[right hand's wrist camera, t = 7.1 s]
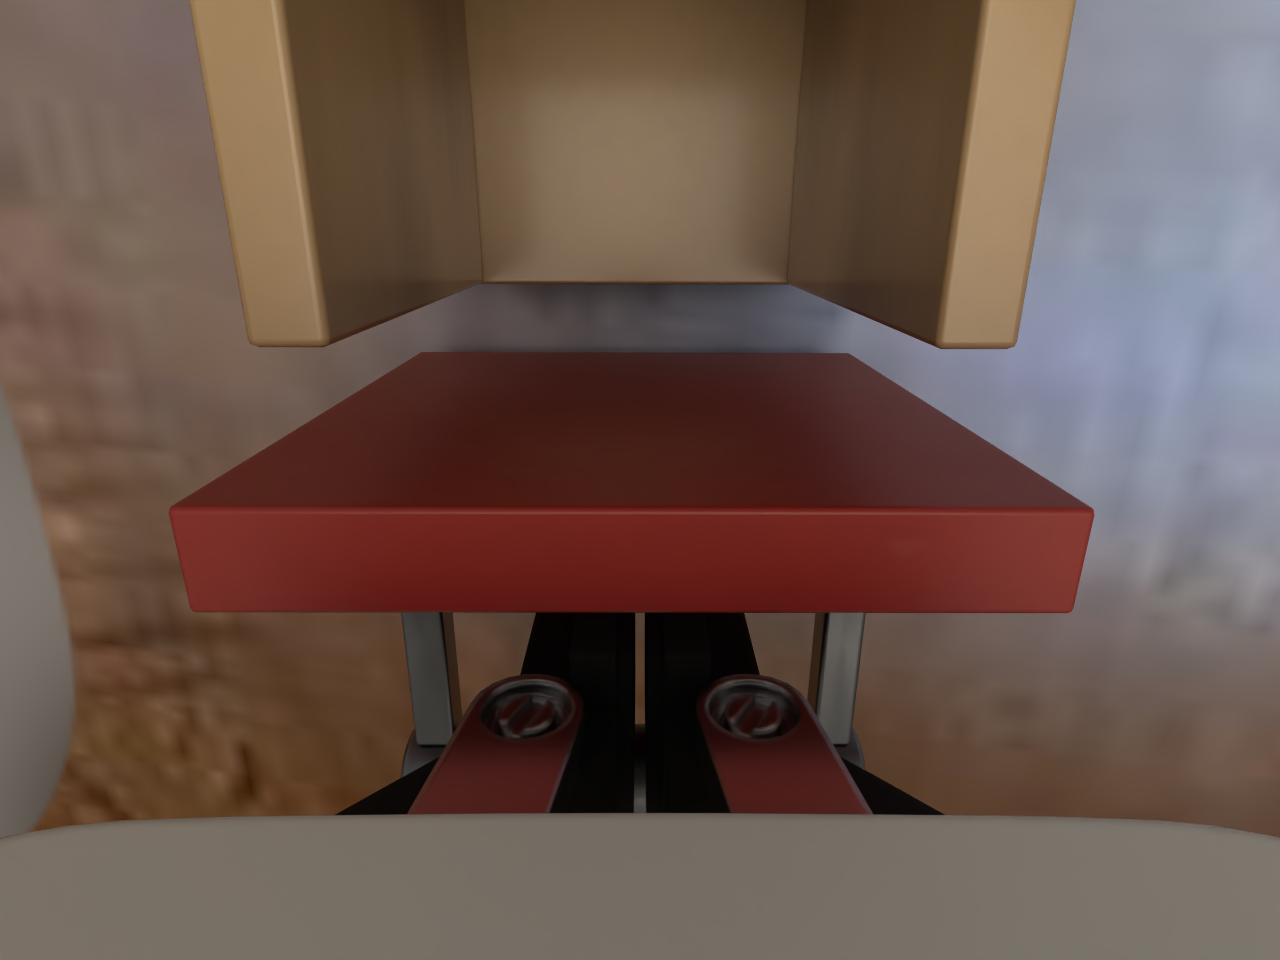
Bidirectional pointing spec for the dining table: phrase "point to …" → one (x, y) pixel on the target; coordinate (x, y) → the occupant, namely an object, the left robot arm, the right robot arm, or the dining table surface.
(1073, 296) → the dining table surface
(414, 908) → the right robot arm
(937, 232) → the drawer
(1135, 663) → the dining table surface
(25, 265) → the dining table surface
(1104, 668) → the dining table surface
